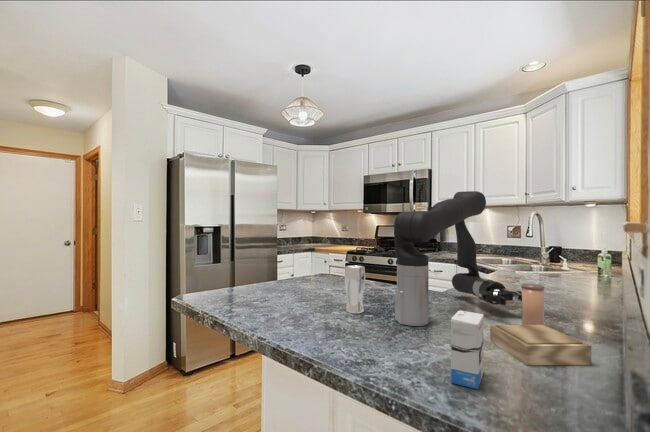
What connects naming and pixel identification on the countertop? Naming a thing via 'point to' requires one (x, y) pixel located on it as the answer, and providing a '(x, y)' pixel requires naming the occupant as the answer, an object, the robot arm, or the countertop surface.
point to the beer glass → (354, 288)
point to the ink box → (467, 349)
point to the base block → (540, 345)
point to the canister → (532, 304)
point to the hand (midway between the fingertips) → (518, 301)
